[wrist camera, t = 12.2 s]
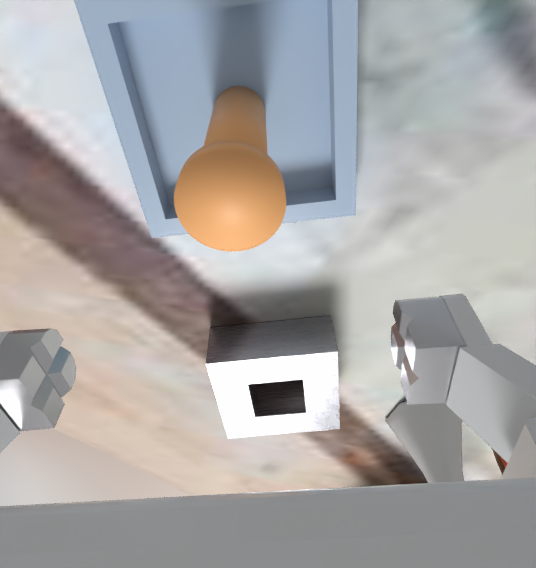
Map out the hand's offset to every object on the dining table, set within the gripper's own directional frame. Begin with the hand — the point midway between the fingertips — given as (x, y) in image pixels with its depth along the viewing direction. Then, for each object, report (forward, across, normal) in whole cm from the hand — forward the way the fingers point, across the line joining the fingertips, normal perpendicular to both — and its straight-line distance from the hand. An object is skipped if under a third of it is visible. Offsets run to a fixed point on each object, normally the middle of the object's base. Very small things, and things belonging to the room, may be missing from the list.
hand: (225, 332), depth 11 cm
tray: (+19, +1, 0) cm, 19 cm away
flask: (+19, -13, +32) cm, 40 cm away
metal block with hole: (+19, +1, +22) cm, 29 cm away
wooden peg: (+18, +1, 0) cm, 18 cm away
